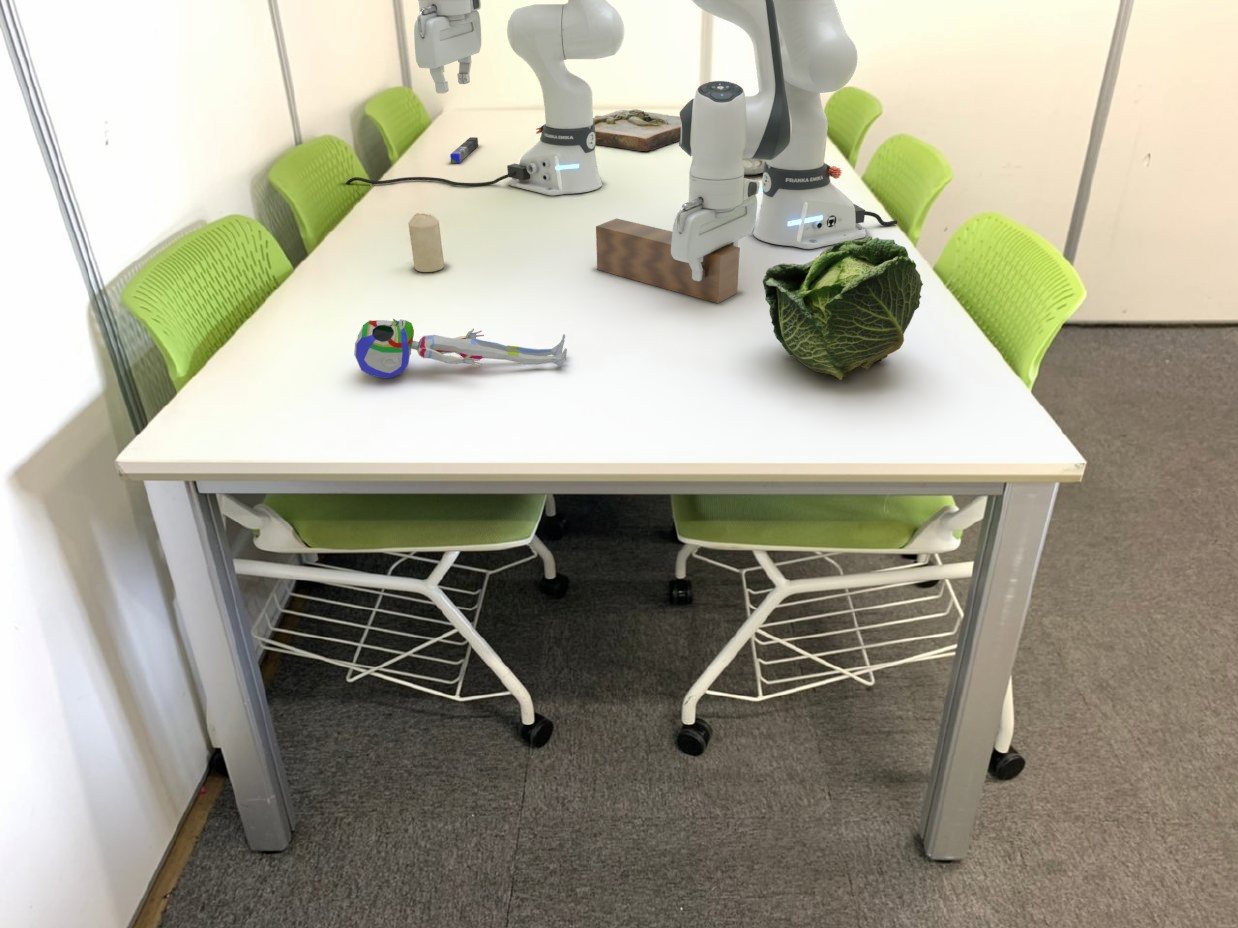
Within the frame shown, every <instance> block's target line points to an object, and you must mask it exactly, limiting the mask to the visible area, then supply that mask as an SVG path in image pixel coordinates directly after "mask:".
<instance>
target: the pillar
mask: <svg viewBox="0 0 1238 928" xmlns="http://www.w3.org/2000/svg"><path fill="white" fill-rule="evenodd" d="M478 146H479V138H478V137H468V138H467V139H466V140H464V141H463V143H462V144H460V145H459V146H458V147H457V148H456V149H454V151H452V152H451V153H450V154H449V155H450V164H460V163H461V162H462V161H463V160H465V159H466V158H467V157H468V156H469V155H470V154H471V153H472V152H473V151H474V150H476V148H478Z"/></svg>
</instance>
